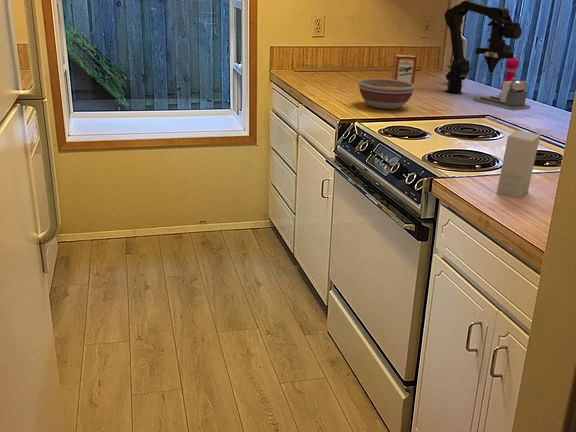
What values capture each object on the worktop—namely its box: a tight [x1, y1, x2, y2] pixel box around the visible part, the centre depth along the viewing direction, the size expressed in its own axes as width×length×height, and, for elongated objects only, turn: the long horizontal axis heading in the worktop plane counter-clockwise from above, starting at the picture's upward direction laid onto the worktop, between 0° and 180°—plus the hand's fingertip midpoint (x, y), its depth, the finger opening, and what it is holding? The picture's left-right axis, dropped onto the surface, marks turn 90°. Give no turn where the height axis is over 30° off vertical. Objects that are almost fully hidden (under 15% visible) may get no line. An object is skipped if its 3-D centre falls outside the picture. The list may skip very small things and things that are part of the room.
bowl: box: [358, 78, 415, 110], centre depth 258 cm, size 23×23×10 cm
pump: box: [499, 77, 517, 103], centre depth 275 cm, size 4×6×11 cm
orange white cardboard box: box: [391, 54, 418, 85], centre depth 303 cm, size 10×6×16 cm
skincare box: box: [496, 129, 541, 199], centre depth 159 cm, size 8×7×16 cm
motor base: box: [472, 80, 531, 111], centre depth 278 cm, size 22×12×12 cm, turn 32°
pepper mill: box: [499, 54, 520, 98], centre depth 295 cm, size 7×7×20 cm
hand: (491, 72), depth 284 cm, fingers closed
